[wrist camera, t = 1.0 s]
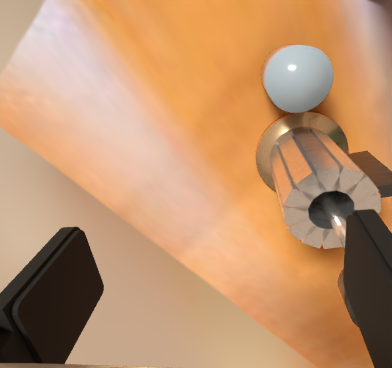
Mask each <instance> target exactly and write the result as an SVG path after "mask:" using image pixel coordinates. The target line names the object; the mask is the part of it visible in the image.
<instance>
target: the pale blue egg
mask: <svg viewBox="0 0 392 368" xmlns="http://www.w3.org/2000/svg"><path fill="white" fill-rule="evenodd" d="M261 81H262V84H263V87H264V89H265V90H266V92H267V94H268V95H269V97H270V99H271V100H272V101H273V103H274V104H275V105H276V106H277V107H279V108H280V109H282V110H284V111H287V112H291V113H301V112H305V111H308V110H311V109H313V108H315V107H316V106H317V105H319V104H320V103H321V102H322V101H323V100H324V99H325V98H326V96H327V95H328V93H329V91H330V89H331V86H332V83H333V68H332V64H331V62H330V60H329V59H328V57H327V56H326V55H325V54H324V53H323V52H322V51H321V50H319V49H317V48H315V47H312V46H305V45H292V44H290V45H283V46H280V47H278V48H276V49H275V50H273V51H272V52H271V53H270V54H269V55H268V56H267V57H266V59H265V60H264V62H263V65H262V68H261Z"/></svg>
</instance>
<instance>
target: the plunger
mask: <svg viewBox="0 0 392 368" xmlns="http://www.w3.org/2000/svg"><path fill="white" fill-rule="evenodd" d="M317 198H318V200H319V202H320V204H321V206H322V207H323V209H324V211H325V213H326V215H327V217H328V219H329V221H330V223H331V225H332V227H333V229H334V231H335V233H336V234H337V236H338V238H339V240H340V242H341V244H342V246H343V248H344V250H345V235H346V222H345V220H344V219H343V217H342V215H341V214H340V212H339V211H338V209H337V207H336V206H335V204H334V202H333V201H332V199H331V197H330V196H329V194H328V192H323V193H321V194H320V195H318V196H317ZM343 275H344V269H343V270H342V272H341V273H340V275H339V278H338V287H339V290H340V293H341V295H342V297H343V300H344V302H345V305H346V307H347V309H348V312H349V314H350V317H351V319H352V321H353V322H354V323H355V324H356V325H357V326H358V327H359V325H358V323H357V320H356V318H355V315H354V312H353V310H352V307H351V304H350V302H349V299H348V297H347V294H346V291H345V288H344V282H343Z"/></svg>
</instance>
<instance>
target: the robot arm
mask: <svg viewBox="0 0 392 368" xmlns="http://www.w3.org/2000/svg"><path fill="white" fill-rule="evenodd" d="M343 282H344V288H345V291H346V294H347V297H348V299H349V302H350V304H351V307H352V310H353V312H354V315H355V318H356V320H357V323H358V325H359V328H360V331H361V333H362V336H363V338H364V341H365V344H366V346H367V349H368V351H369V354H370V357H371V359H372V362H373V365H374V367H375V368H392V233H391V232H390V231H389V229H388V228H387V226H386V225H385V224H384V222H383V221H382V219H381V218H380V217H379V215H378V214H377V212H376V211H375V210H374V209H364V210H354V211H353V213H352V215H347V218H346V235H345V255H344V275H343ZM103 290H104V285H103V282H102V279H101V276H100V274H99V271H98V268H97V265H96V263H95V260H94V257H93V255H92V252H91V249H90V246H89V243H88V241H87V238H86V235H85V233H84V232H83V231H82V230H80V229H79V228H78V227H64V228H61V229H60V230H59V231H58V232H57V233H56V234H55V235H54V236H53V237H52V238H51V239H50V241H49V242H48V243H47V244H46V245H45V246H44V247H43V248H42V249H41V250H40V251H39V252H38V253H37V255H36V256H35V257H34V258H33V259H32V260H31V261H30V262H29V263H28V264H27V265H26V266H25V267H24V268H23V270H22V271H21V272H20V273H19V274H18V275H17V276H16V277H15V278H14V279H13V280H12V281H11V282H10V283H9V285H8V286H7V287H6V288H5V289H4V290H3V291H2V292H1V293H0V368H167V367H138V366H110V365H109V366H108V365H75V364H74V365H73V364H65V362H66V360H67V358H68V356H69V355H70V353H71V351H72V349H73V347H74V345H75V343H76V341H77V340H78V338H79V336H80V334H81V332H82V330H83V329H84V327H85V325H86V323H87V321H88V320H89V318H90V316H91V314H92V312H93V310H94V308H95V307H96V305H97V303H98V301H99V299H100V297H101V296H102V293H103ZM168 368H169V367H168Z"/></svg>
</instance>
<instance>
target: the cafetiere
mask: <svg viewBox="0 0 392 368" xmlns="http://www.w3.org/2000/svg"><path fill="white" fill-rule="evenodd" d="M256 164H257V168H258V171H259V174H260V176H261V178H262V179H263V180H264V182H265V183H266V184H267V185H268V186H269V187H270V188H272V189H273V190H275V191H276V192H277V195H278V199H279V203H280V206H281V210H282V214H283V218H284V221H285V225H286V226H287V229H288V230H289V231H290V232H291V233H292V234H293V235H294V236H295V238H296V239H297V240H298V241H299V240H301V241H302V243H304V244H307V245H310V246H313V247H316V248H319V249H320V247H321V246H322V245H323V248H324V249H329V248H338V247H343V246H342V244H341V242H340V240H339V238H338V236H337V234H336V233H335V231H334V229H333V227H332V225H331V223H330V221H329V219H328V217H327V215H326V213H325V211H324V209H323V207H322V206H321V204H320V202H319V200H318V198H317V196H318V195H320V194H321V193H323V192H328V194H329V196H330V197H331V199H332V201H333V202H334V204H335V206H336V207H337V209H338V211H339V212H340V214H341V215H342V217H343V219H344V220H345V222H346V218H347V215H352V213H353V211H354V210H364V209H374V210H375V211H376V212H377V213H380V212H381V198H383V197H390V196H392V172H391V171H390V170H389V169H388V168H387V167H386V166H384V165H383V164H382V163H381V162H380V161H378V160H377V159H376V158H375V157H374V156H372V155H371V154H370V153H369V152H368V151H363V152H358V153H352V154H348V143H347V139H346V137H345V134H344V132H343V131H342V129H341V128H340V127H339V126H338V125H337V124H336V123H335V122H334V121H333V120H331V119H330V118H328V117H327V116H325V115H322V114H320V113H316V112H309V111H305V112H301V113H291V114H288V115H285V116H283V117H281V118H279V119H278V120H276V121H275V122H273V123H272V124H271V125H270V126H269V127H268V128H267V129H266V130H265V132H264V133H263V135H262V136H261V138H260V140H259V143H258V146H257V150H256Z"/></svg>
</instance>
